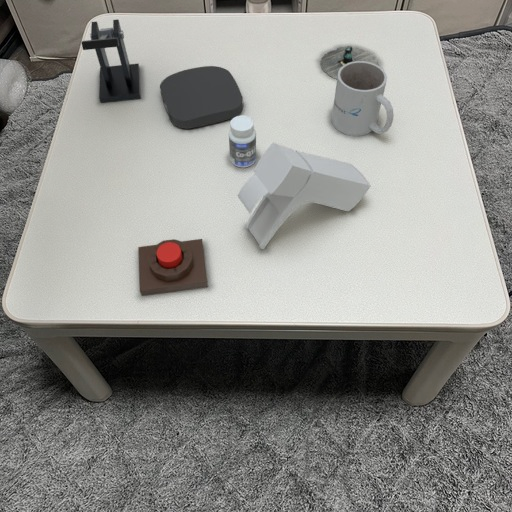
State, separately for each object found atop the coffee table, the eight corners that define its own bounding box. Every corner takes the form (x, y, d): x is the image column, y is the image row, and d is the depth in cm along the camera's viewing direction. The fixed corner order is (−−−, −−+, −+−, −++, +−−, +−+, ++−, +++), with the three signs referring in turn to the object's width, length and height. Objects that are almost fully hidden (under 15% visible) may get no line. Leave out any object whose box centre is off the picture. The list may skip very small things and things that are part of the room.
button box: (141, 296, 77) (137, 284, 75) (140, 253, 82) (136, 240, 79) (207, 287, 78) (205, 274, 75) (203, 244, 83) (200, 231, 80)
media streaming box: (248, 116, 100) (248, 104, 97) (175, 134, 97) (172, 121, 95) (225, 72, 108) (225, 59, 105) (157, 87, 105) (155, 75, 103)
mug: (322, 114, 100) (328, 70, 92) (359, 100, 102) (368, 55, 94) (359, 154, 94) (368, 110, 85) (397, 138, 96) (410, 93, 88)
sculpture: (312, 73, 108) (322, 33, 105) (323, 79, 116) (333, 42, 114) (367, 86, 104) (379, 45, 102) (375, 91, 112) (386, 53, 110)
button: (159, 270, 76) (156, 263, 75) (157, 250, 78) (155, 243, 77) (183, 266, 77) (181, 260, 75) (181, 247, 79) (180, 240, 77)
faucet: (373, 185, 83) (294, 164, 68) (312, 255, 91) (230, 249, 76) (350, 161, 86) (270, 135, 72) (294, 231, 94) (211, 220, 79)
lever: (119, 50, 88) (116, 35, 87) (83, 53, 88) (80, 38, 87) (125, 40, 99) (122, 26, 98) (93, 43, 98) (90, 29, 97)
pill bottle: (236, 171, 92) (234, 135, 85) (226, 154, 94) (223, 118, 87) (260, 163, 93) (260, 127, 86) (249, 146, 95) (248, 110, 88)
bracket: (140, 98, 103) (126, 40, 93) (100, 102, 103) (81, 45, 92) (139, 68, 109) (126, 10, 98) (101, 72, 108) (83, 14, 98)
